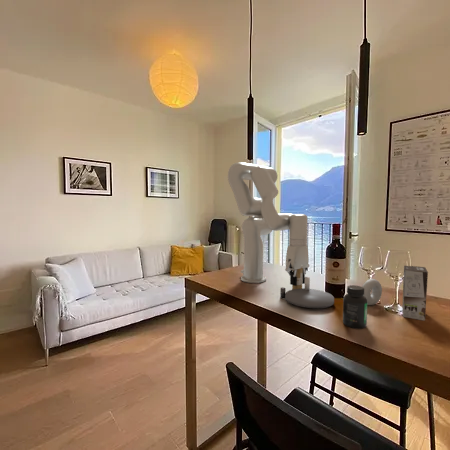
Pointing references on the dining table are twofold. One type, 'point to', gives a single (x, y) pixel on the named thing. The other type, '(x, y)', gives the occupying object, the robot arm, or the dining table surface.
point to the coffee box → (414, 292)
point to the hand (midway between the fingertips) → (297, 283)
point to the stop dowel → (282, 293)
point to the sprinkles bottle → (299, 279)
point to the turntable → (309, 297)
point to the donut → (376, 291)
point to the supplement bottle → (355, 307)
